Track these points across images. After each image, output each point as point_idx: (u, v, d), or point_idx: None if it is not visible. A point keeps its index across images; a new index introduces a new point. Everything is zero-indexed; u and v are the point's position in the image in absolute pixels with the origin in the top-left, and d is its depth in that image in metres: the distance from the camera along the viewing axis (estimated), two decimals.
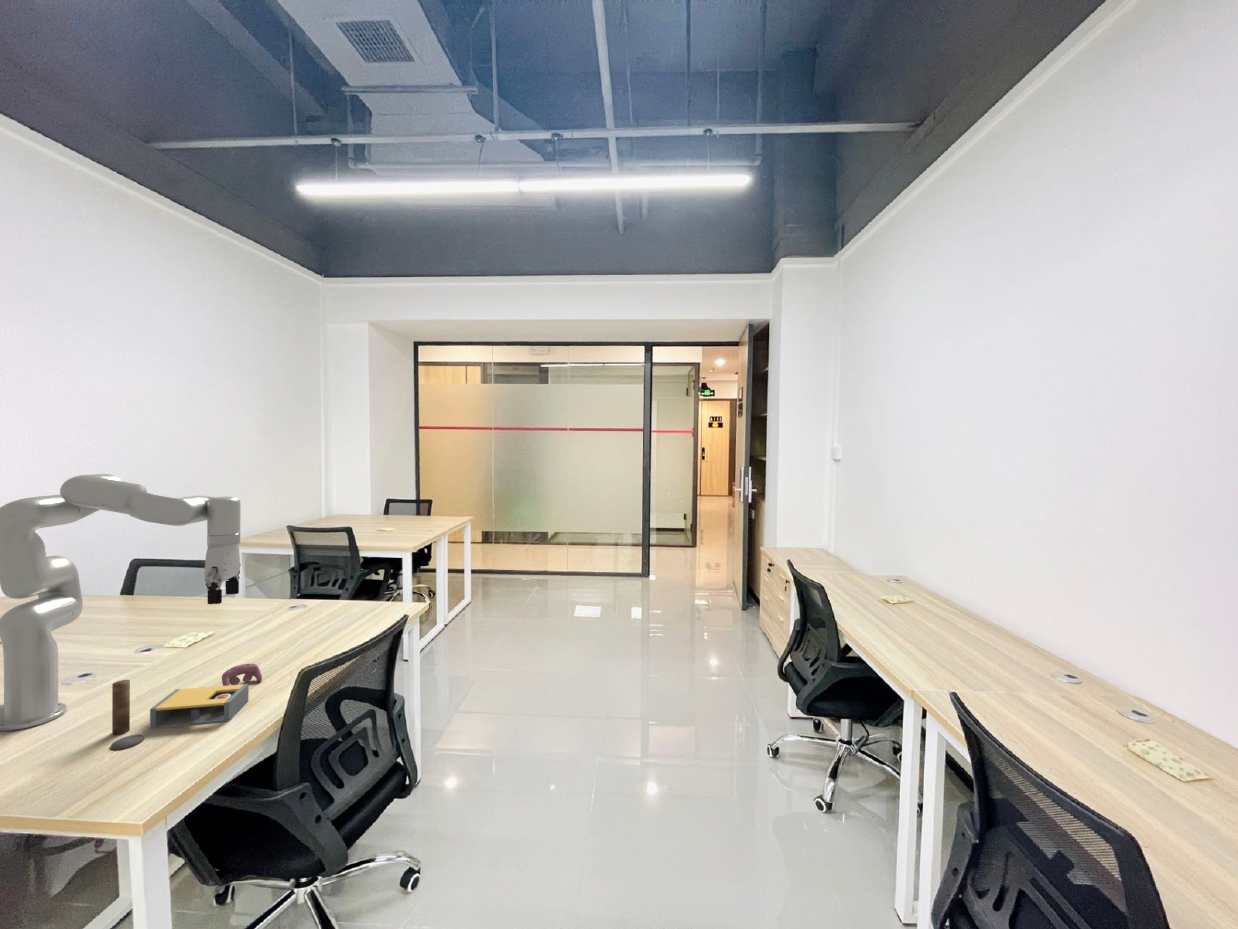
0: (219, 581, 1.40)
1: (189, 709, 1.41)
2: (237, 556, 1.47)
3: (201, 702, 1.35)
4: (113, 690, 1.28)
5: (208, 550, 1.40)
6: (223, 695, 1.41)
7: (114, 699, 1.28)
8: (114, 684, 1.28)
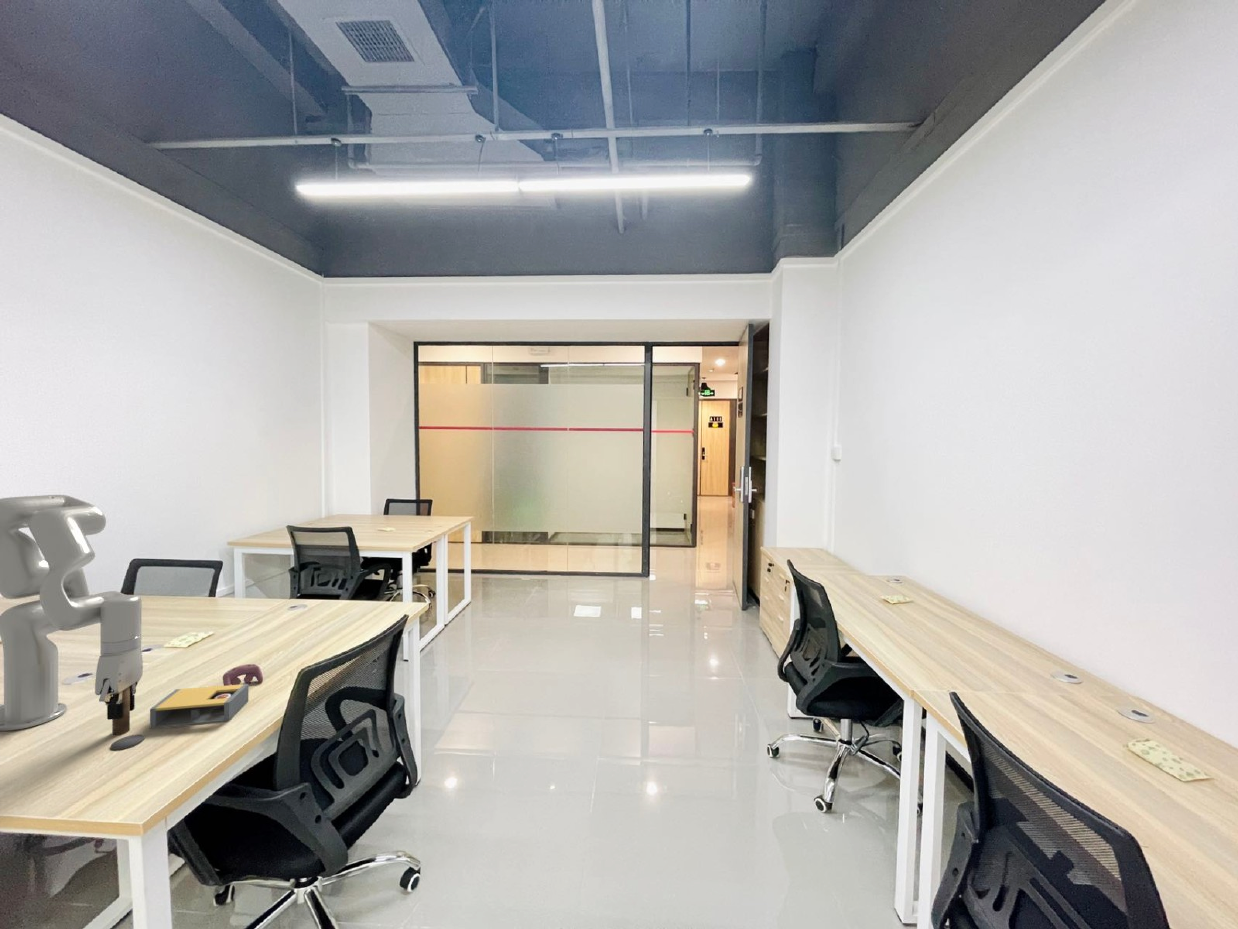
0: (118, 695, 1.27)
1: (189, 709, 1.41)
2: (138, 660, 1.32)
3: (201, 702, 1.35)
4: (113, 690, 1.28)
5: (100, 660, 1.25)
6: (223, 695, 1.41)
7: None
8: None
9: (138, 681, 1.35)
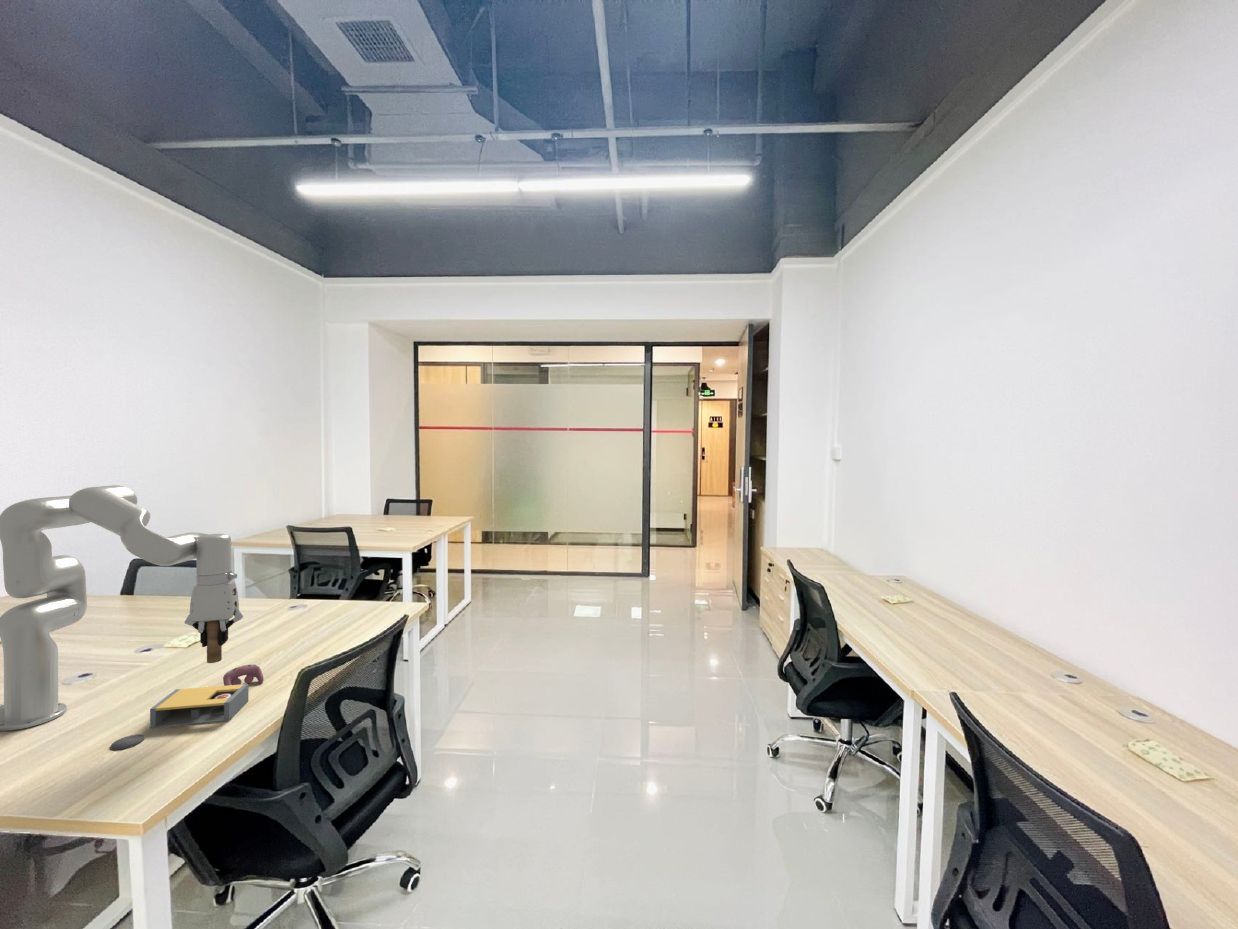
0: (199, 624, 1.37)
1: (189, 709, 1.41)
2: (220, 600, 1.37)
3: (201, 702, 1.35)
4: None
5: None
6: (223, 695, 1.41)
7: None
8: None
9: (236, 621, 1.40)
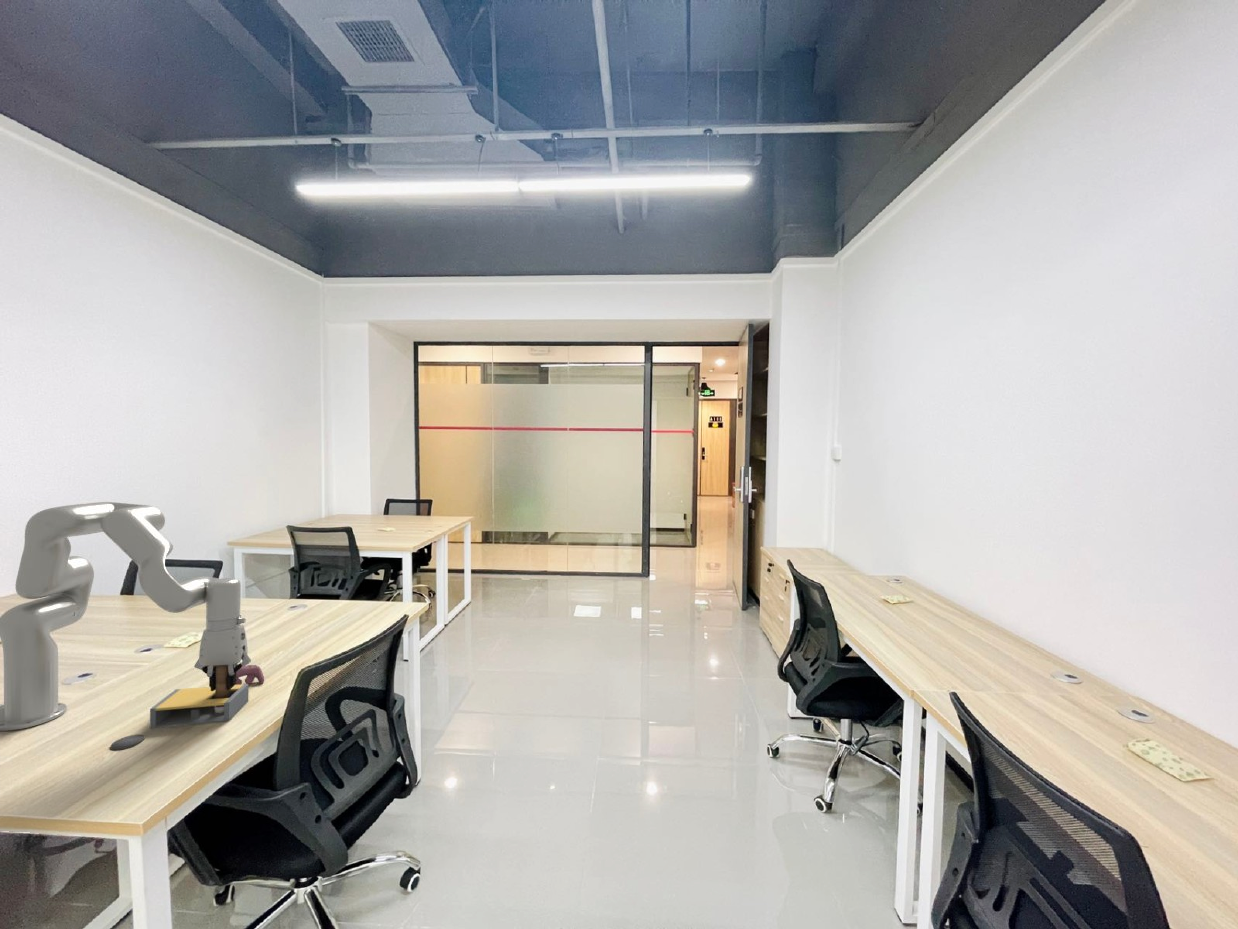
0: None
1: (189, 709, 1.41)
2: (228, 645, 1.38)
3: (201, 702, 1.35)
4: None
5: None
6: None
7: None
8: None
9: (244, 665, 1.41)
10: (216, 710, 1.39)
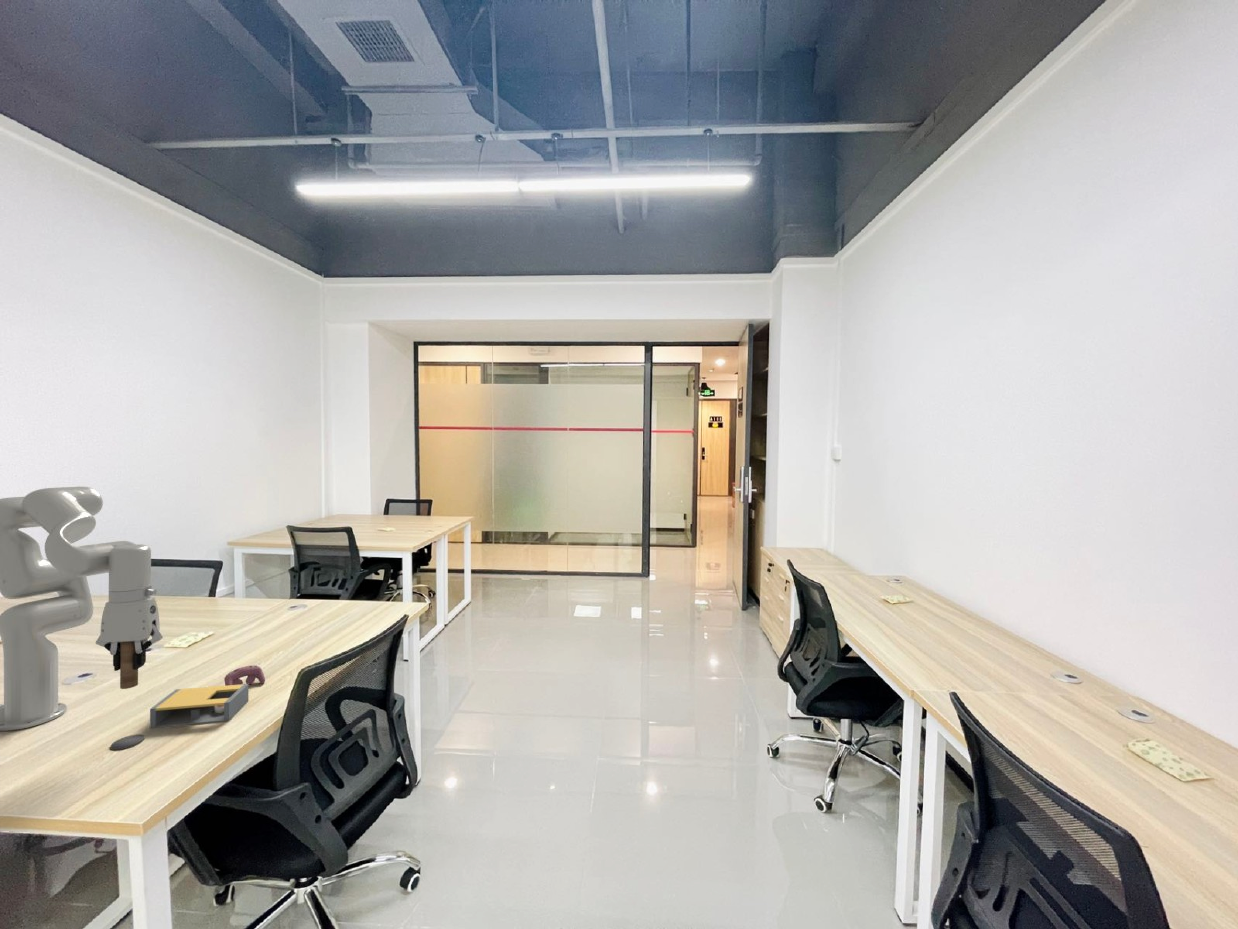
0: None
1: (189, 709, 1.41)
2: (134, 619, 1.23)
3: (201, 702, 1.35)
4: None
5: None
6: None
7: None
8: None
9: (154, 642, 1.26)
10: (216, 710, 1.39)
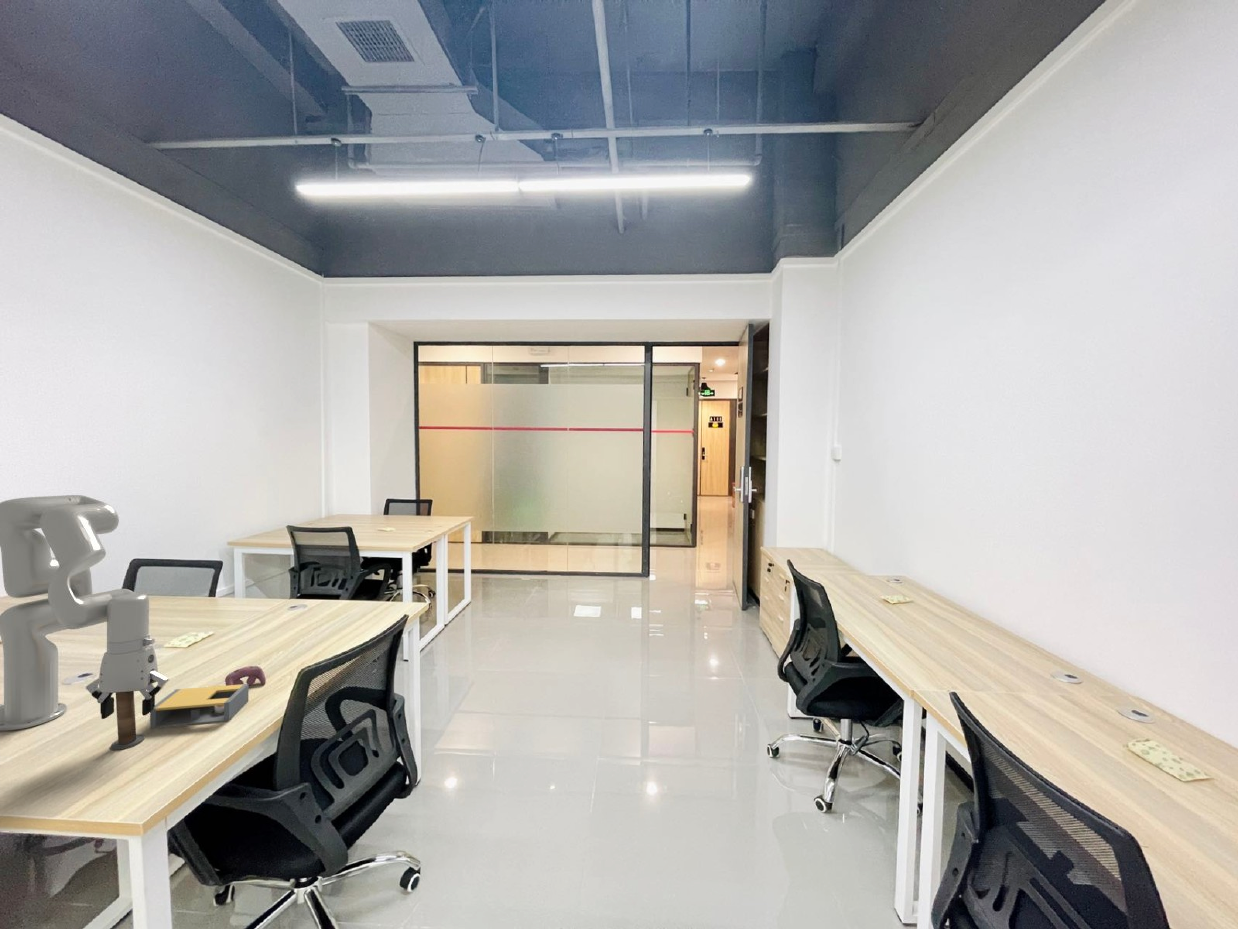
0: (102, 693, 1.23)
1: (189, 709, 1.41)
2: (133, 669, 1.23)
3: (201, 702, 1.35)
4: None
5: None
6: None
7: None
8: None
9: (162, 686, 1.26)
10: (216, 710, 1.39)
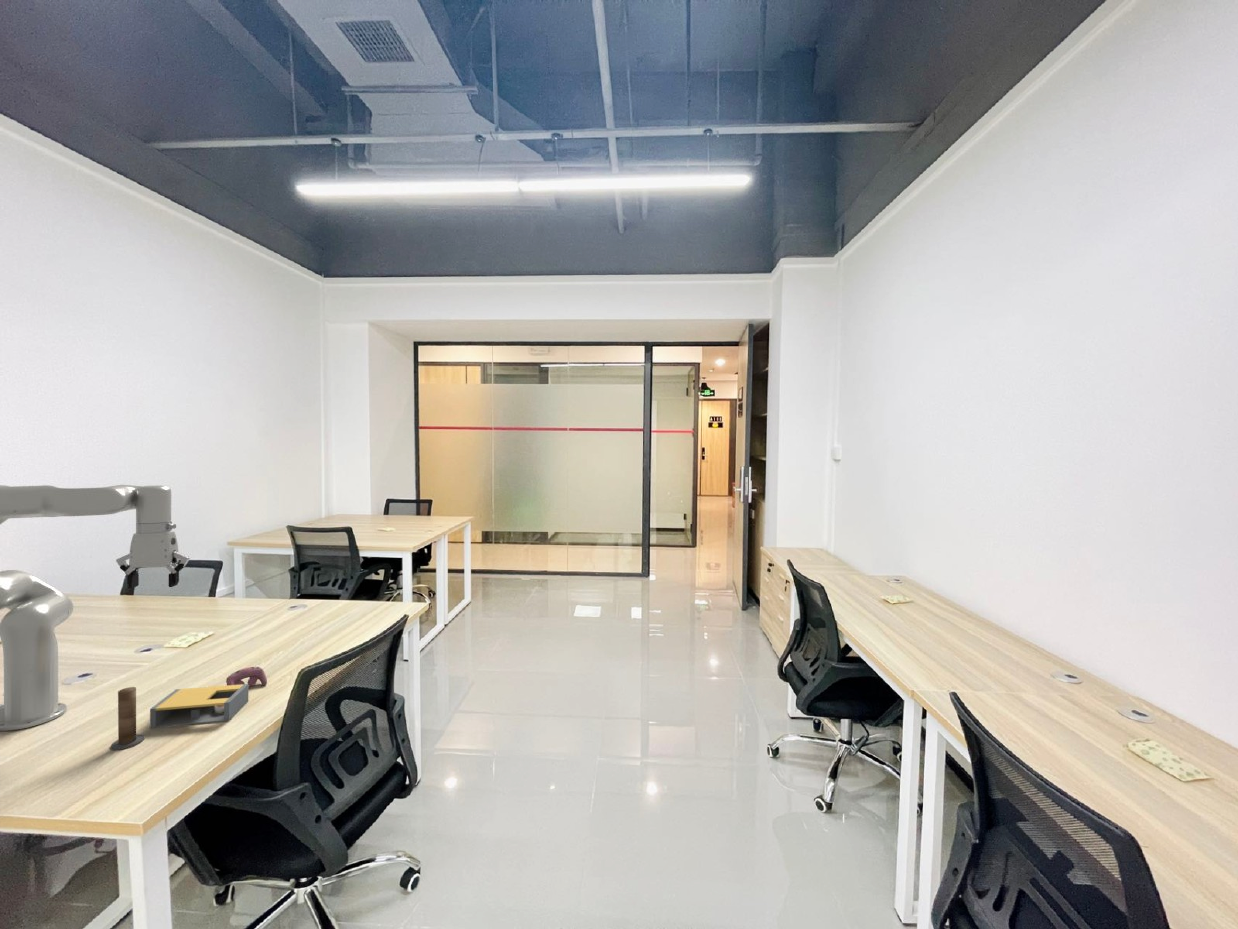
0: (130, 566, 1.43)
1: (189, 709, 1.41)
2: (158, 548, 1.44)
3: (201, 702, 1.35)
4: None
5: None
6: None
7: None
8: (125, 688, 1.25)
9: (185, 562, 1.47)
10: (216, 710, 1.39)
